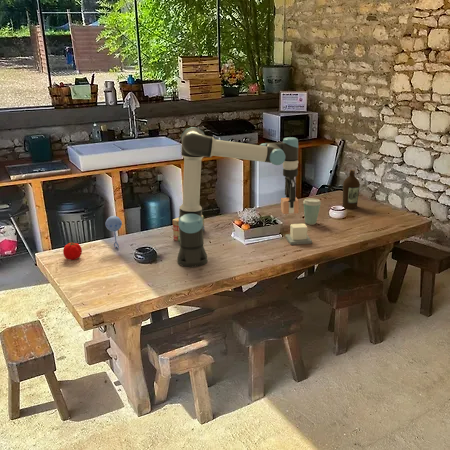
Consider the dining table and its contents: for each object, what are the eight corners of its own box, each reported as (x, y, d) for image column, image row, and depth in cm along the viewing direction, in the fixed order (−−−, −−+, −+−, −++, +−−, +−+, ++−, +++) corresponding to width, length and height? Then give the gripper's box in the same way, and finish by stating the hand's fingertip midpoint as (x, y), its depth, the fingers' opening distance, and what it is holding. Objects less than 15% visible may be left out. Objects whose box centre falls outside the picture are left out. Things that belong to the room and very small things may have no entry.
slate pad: (290, 244, 268) (290, 242, 268) (285, 236, 279) (285, 234, 279) (311, 243, 270) (312, 240, 269) (305, 235, 281) (305, 233, 280)
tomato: (66, 263, 250) (64, 248, 247) (61, 257, 258) (59, 242, 255) (85, 259, 255) (83, 244, 252) (79, 253, 263) (77, 238, 260)
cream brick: (292, 239, 271) (293, 227, 268) (290, 236, 276) (290, 224, 274) (306, 239, 272) (307, 227, 269) (303, 235, 277) (304, 223, 275)
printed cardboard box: (196, 228, 295) (195, 209, 291) (204, 230, 292) (203, 210, 288) (173, 240, 279) (172, 219, 274) (182, 242, 275) (181, 221, 271)
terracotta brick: (283, 214, 257) (283, 201, 255) (280, 210, 263) (281, 198, 261) (298, 213, 258) (298, 200, 256) (295, 209, 264) (295, 197, 261)
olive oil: (338, 205, 333) (341, 168, 324) (353, 204, 335) (356, 167, 326) (345, 210, 323) (348, 172, 314) (360, 208, 325) (363, 171, 316)
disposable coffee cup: (302, 219, 306) (303, 196, 301) (320, 220, 304) (321, 197, 299) (301, 225, 297) (302, 201, 292) (319, 226, 295) (321, 202, 289)
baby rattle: (104, 247, 269) (101, 216, 263) (117, 243, 275) (114, 212, 269) (114, 252, 263) (110, 220, 257) (127, 247, 269) (124, 215, 263)
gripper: (302, 172, 244) (301, 216, 252) (293, 163, 262) (292, 205, 270) (287, 173, 243) (286, 217, 251) (279, 164, 261) (279, 206, 269)
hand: (289, 211), depth 261 cm, fingers closed on terracotta brick, 6 cm apart
